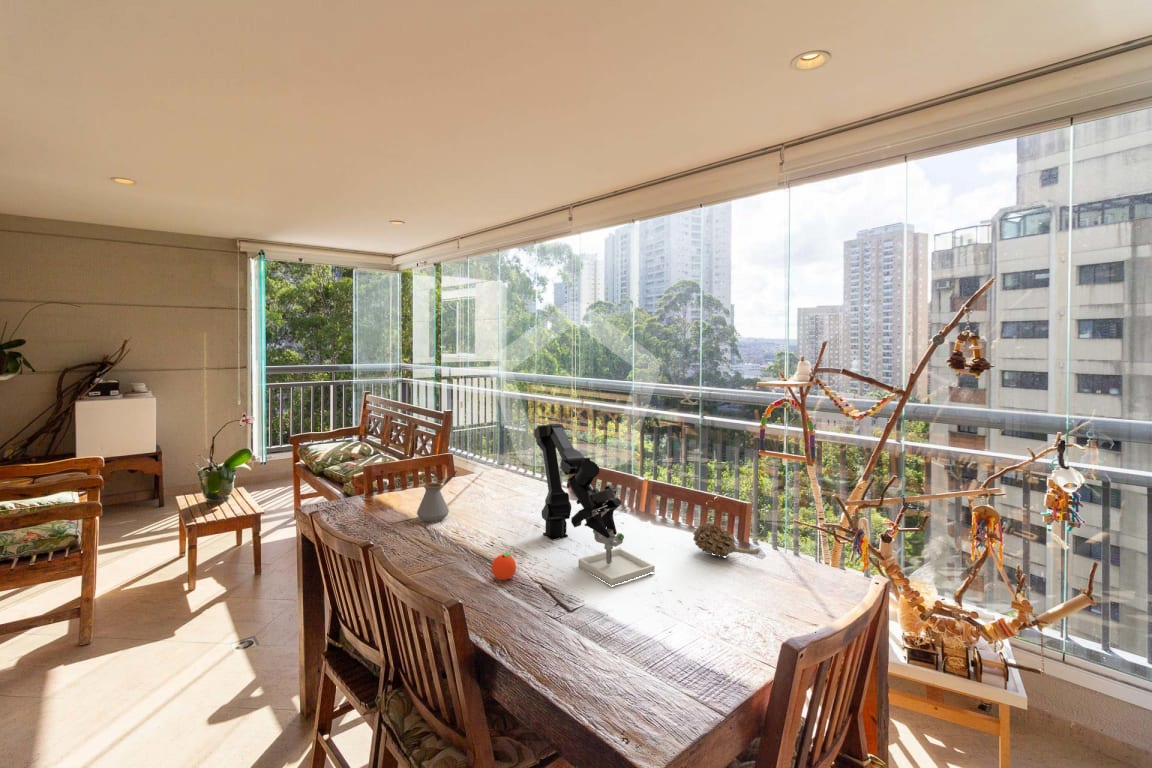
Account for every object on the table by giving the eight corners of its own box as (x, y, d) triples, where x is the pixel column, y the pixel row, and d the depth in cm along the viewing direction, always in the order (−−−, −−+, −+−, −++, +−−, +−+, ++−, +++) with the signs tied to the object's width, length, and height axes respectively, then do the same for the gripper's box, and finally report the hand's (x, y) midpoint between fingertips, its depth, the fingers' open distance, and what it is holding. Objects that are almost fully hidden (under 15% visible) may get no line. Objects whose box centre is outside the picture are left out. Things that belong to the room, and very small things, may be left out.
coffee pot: (436, 526, 200) (436, 485, 199) (410, 521, 204) (409, 481, 203) (469, 509, 220) (469, 471, 218) (445, 505, 224) (445, 468, 223)
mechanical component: (620, 568, 164) (619, 535, 163) (592, 560, 170) (591, 528, 169) (625, 565, 166) (625, 532, 165) (598, 557, 172) (597, 525, 171)
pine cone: (687, 555, 179) (688, 524, 178) (698, 545, 186) (700, 516, 186) (757, 572, 166) (758, 540, 165) (766, 562, 174) (767, 531, 173)
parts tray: (611, 587, 155) (611, 578, 155) (578, 566, 168) (578, 558, 168) (654, 573, 164) (654, 565, 164) (619, 555, 177) (619, 547, 177)
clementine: (507, 570, 165) (507, 546, 164) (523, 577, 160) (523, 553, 160) (486, 579, 159) (486, 555, 158) (503, 586, 154) (503, 561, 154)
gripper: (579, 483, 161) (609, 530, 155) (617, 471, 175) (646, 514, 169) (558, 504, 167) (586, 550, 161) (597, 491, 181) (624, 533, 175)
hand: (612, 536), depth 166 cm, fingers closed on mechanical component, 3 cm apart
